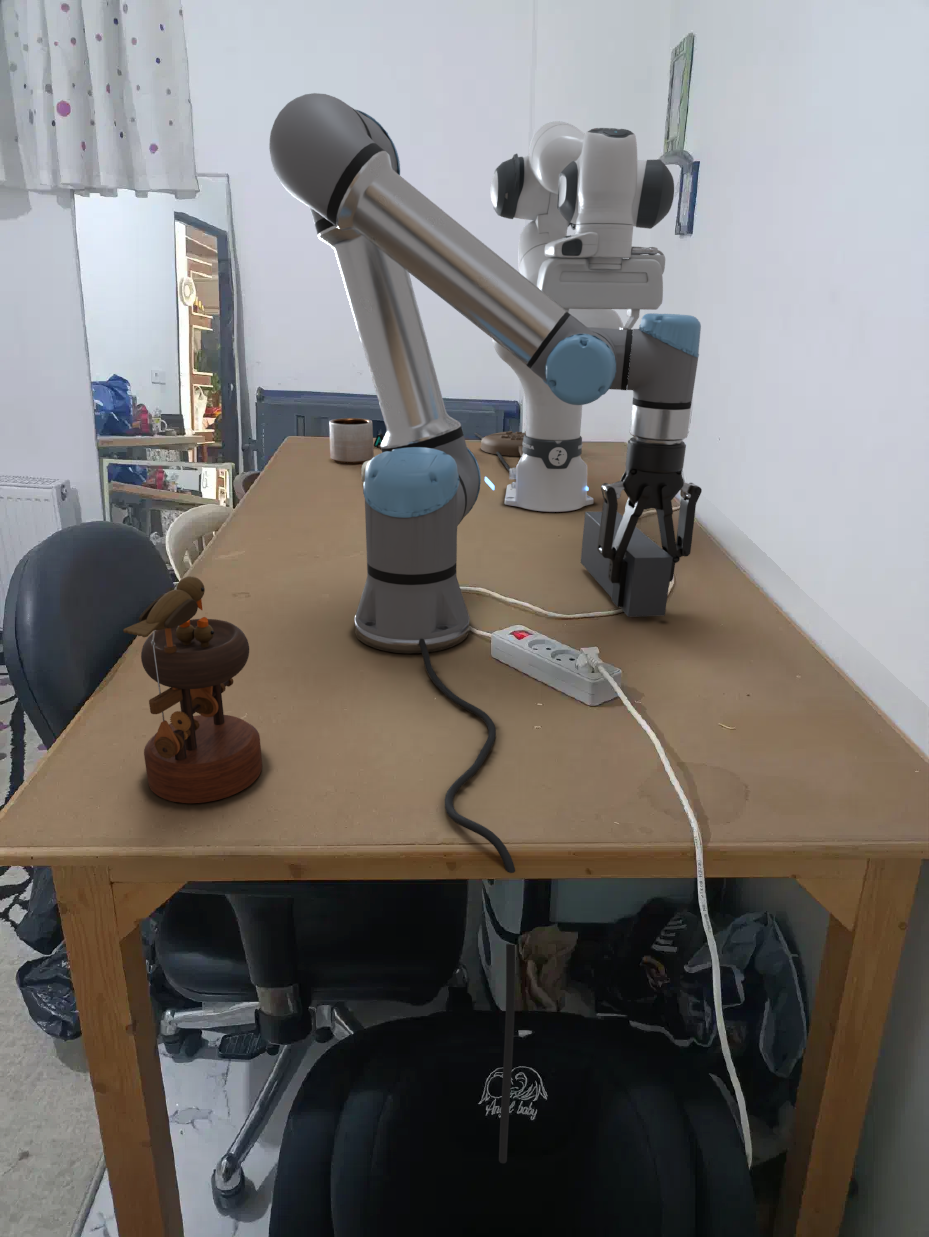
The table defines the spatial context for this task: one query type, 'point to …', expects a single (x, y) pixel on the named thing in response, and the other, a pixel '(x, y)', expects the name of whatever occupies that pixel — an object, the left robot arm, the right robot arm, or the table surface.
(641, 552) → the bar
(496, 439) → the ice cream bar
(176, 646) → the music box
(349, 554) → the table surface
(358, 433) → the planter
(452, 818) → the left robot arm
